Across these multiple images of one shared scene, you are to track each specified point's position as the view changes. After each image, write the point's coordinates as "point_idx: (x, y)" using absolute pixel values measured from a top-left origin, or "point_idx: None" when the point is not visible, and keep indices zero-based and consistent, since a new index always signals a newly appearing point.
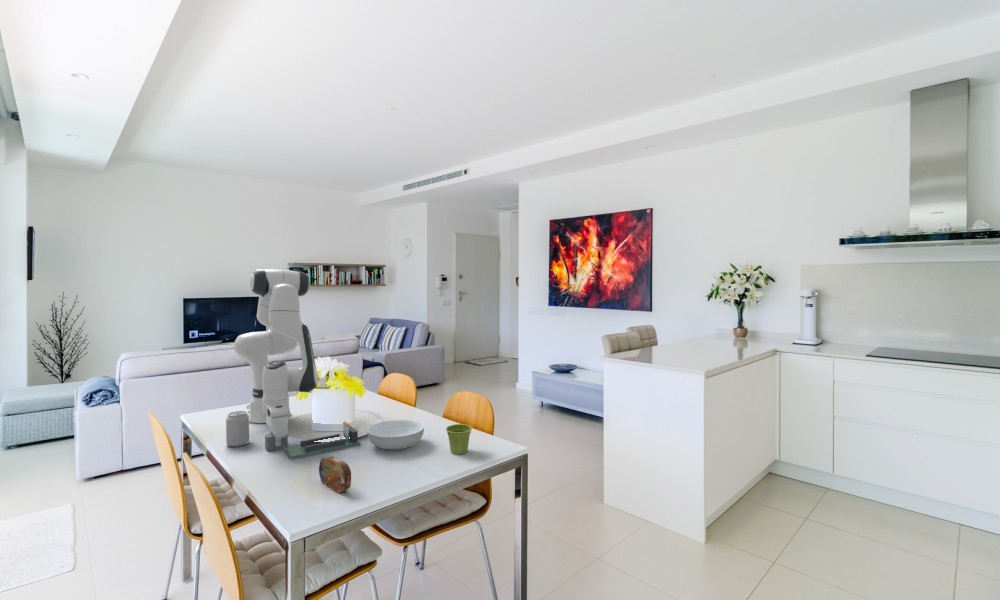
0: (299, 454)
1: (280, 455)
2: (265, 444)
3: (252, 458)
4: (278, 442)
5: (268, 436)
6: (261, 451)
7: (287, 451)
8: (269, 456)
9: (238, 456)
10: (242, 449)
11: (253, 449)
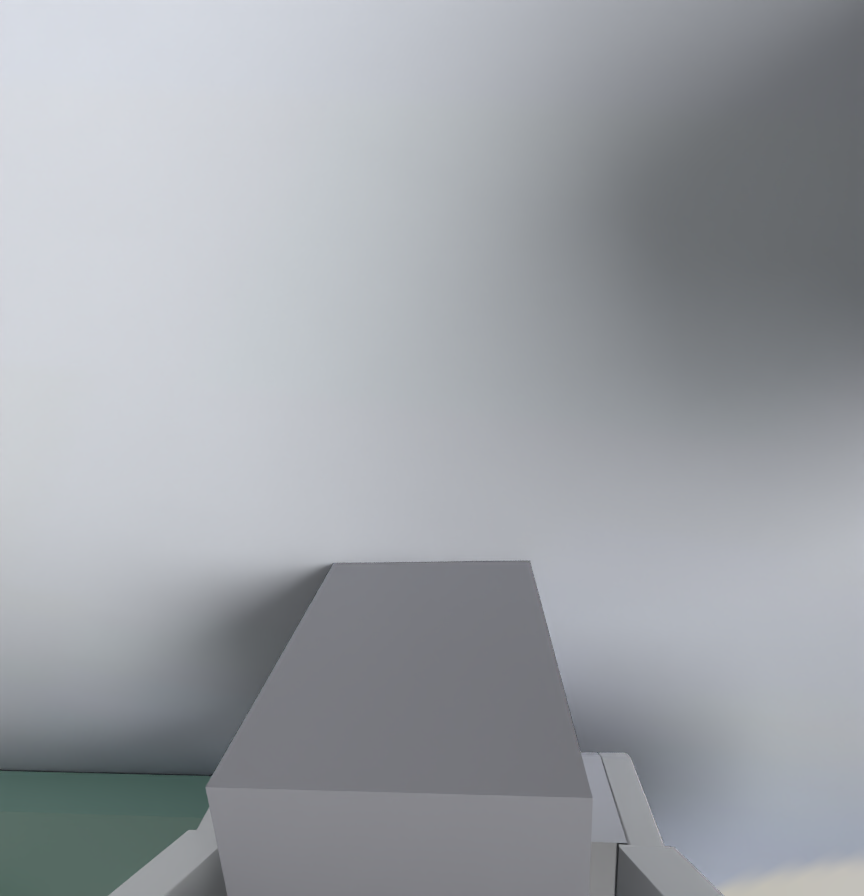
0: None
1: (56, 690)
2: (468, 609)
3: (78, 311)
4: None
5: (310, 846)
6: (374, 487)
7: (52, 806)
8: (71, 560)
9: (303, 56)
10: (722, 164)
11: (573, 374)
